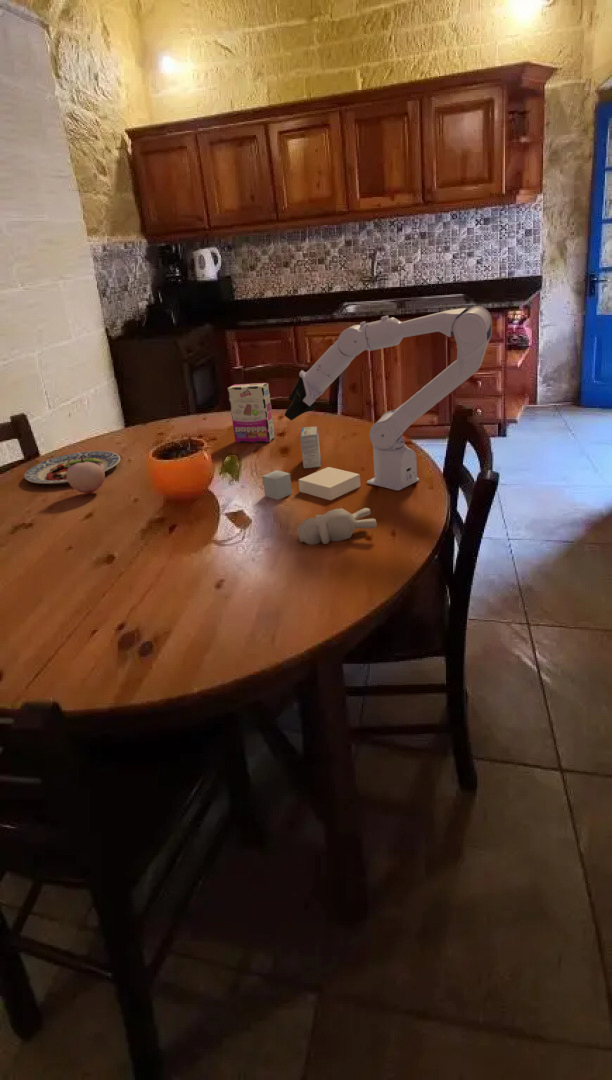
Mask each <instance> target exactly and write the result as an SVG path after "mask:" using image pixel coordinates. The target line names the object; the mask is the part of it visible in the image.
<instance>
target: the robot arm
mask: <svg viewBox="0 0 612 1080" xmlns="http://www.w3.org/2000/svg"><path fill="white" fill-rule="evenodd" d="M465 310H466V311H465ZM491 315H492V314H491V313H490V312H489V310H488V309H486V308H484V307H482V306H472V307H470V308H468V309H467V308H464V307H462V308H455V309H454V308H453V309H449V310H444V311H443V310H442V311H440V312H435V313H431V314H428V315H424V316H420V317H415V318H413V319H408V320H405V321H401V320H399V319H398V318H395V317H394V316H393V317H392V316H391V317H389V315H384V316H381V317H380V319H379V320H376V321H371V322H366V320H365V321H361V322H360V323H359V324H353V325H352V326H350V327H348V328H346V329H344V330H343V331H342V332H341V333H340V334H339V336H338V338H337V339H336V340H335V342H334V343H333V344H332V345H330V346H329V348H327V350H326V351H325V352H324V353H323V354H322V355H321V356H320V358H318V360H316V362H315V363H314V364H313V365H312V366H311V367H310V368H309V370H307V371H306V372H305V371H304V370H300V372H299V378H298V379H297V382H296V384H295V386H294V387H293V389H292V390H291V392H290V395H289V396H288V400H289V401H290V402H291V403H290V405H289V406H288V408H287V409H286V410H285V413H284V417H286V418H287V419H288V420H290V421H293V420H295V419H296V418H297V417H299V416H301V415H303V414H305V413H308V412H311V411H315V409H316V406H317V405H316V404H315V402H316V400H317V399H318V398H319V397H321V396H322V395H323V394H324V393H325V392H326V390H327V389H328V388H329V387H330V385H332V383H333V382H335V380H336V379H337V378H338V377H339V376H340V375H341V374H343V372H344V371H345V370H346V369H347V368H348V367H349V365H350V364H351V362H352V361H353V360H354V359H355V358H356V356H359V355H360V354H361V353H363V352H364V351H369V352H372V351H376V350H380V349H381V350H382V349H385V348H390V347H394V346H395V347H396V346H398V345H400V343H401V342H402V340H403V338H409V337H413V336H420V335H425V334H431V333H438V332H439V333H441V334H443V335H445V336H447V337H448V338H451V337H453V335H454V340H455V343H456V347H457V348H456V349H457V351H456V359H455V360H454V361H453V362H451V363H450V364H449V365H448V366H447V367H446V368H445V369H443V370H442V371H441V372H440V373H438V374H437V375H436V376H435V377H434V378H433V379H432V380H430V381H429V382H428V383H426V384H425V385H424V386H423V387H422V388H421V389H419V390H418V391H417V392H416V393H414V394H413V395H412V396H411V397H409V399H407V400H406V401H405V402H404V403H402V404H401V405H399V406H398V407H397V408H396V409H393V410H388V411H386V412H385V413H383V415H381V417H380V418H379V419H378V420H377V421H376V422H375V423H373V425H371V427H370V428H369V429H370V430H369V434H368V435H369V440H370V442H371V443H372V451H373V452H372V453H373V455H372V456H373V474H374V477H372V478H371V479H368V480H367V481H366V483H367V484H369V485H374V486H377V487H382V488H386V489H388V490H393V491H398V492H399V491H401V490H402V489H405V488H407V487H409V486H411V485H412V484H415V483H417V482H418V481H420V478H419V477H418V473H417V471H418V469H417V467H418V466H417V464H418V463H417V460H418V459H417V453H416V452H415V450H414V449H412V448H410V447H408V446H407V444H405V443H406V442H405V438H404V437H403V434H404V433H405V431H406V430H407V429H409V427H410V426H411V425H412V424H413V423H415V421H416V422H417V420H418V419H419V418H421V417H422V416H423V415H425V414H426V413H427V412H428V411H430V410H431V409H432V408H433V407H435V406H436V405H437V404H438V403H440V402H441V401H442V400H443V399H444V398H445V397H447V396H449V395H450V394H451V393H452V392H453V391H454V390H455V389H457V388H458V387H459V386H461V385H462V384H463V383H464V382H466V381H467V380H468V379H470V378H471V377H472V376H473V375H474V374H476V373H477V372H478V371H479V369H481V366H482V364H483V361H484V358H485V355H486V353H487V349H488V346H489V343H490V341H491V337H492V334H493V319H492V316H491Z"/></svg>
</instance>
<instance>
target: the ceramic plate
mask: <svg viewBox="0 0 612 1080" xmlns="http://www.w3.org/2000/svg"><path fill="white" fill-rule="evenodd" d="M81 456H82V458H83V460H85V459H88V458H96V459H99V460H101V461H102V462H103V463H101V462H99V463H100V464H101V465H102V466H103V469H104V472H107V471H110V470H111V469H113V468H114V467H116V466H117V465H118V464H119V463H120V461H121V456H120V455H119V454H117V453H116V452H112V451H106V450H91V451H90V450H89V451H81V452H74V453H68V454H64V455H60V456H56V457H53V458H50V459H47V460H44V461H41V462H39V463H37V464H35V465H34V466H32V467H30V468H29V469H27V470H26V472H25V473H24V479H25V480H26V481H28V482H30V483H35V484H47V485H48V484H49V485H53V484H67V483H68V484H69V482H68V480H67V469H68V467H69V466H70V465H71V464H70V465H68V466H66V467H65V468H64V466H65V465H66V464H67V463H69V462H71V461H74V460H80V461H82V460H81Z"/></svg>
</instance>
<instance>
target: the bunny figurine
mask: <svg viewBox="0 0 612 1080" xmlns="http://www.w3.org/2000/svg"><path fill="white" fill-rule="evenodd" d="M369 515H371V509H370V508H368V507H363V508H361V509H359V510H357V511H355V512H354V513H351V512H349V511H347V510H345V509H344V508H335V509H331V510H328V511H326V512H325V513H324V514H316V515H315V516H314V517H309V518H305V520H303V521H302V522H301V523H300V525H299V526H296V529H297V533H298V537H299V542H300V543H303V542H304V543H305V544H307V545H309V546H312V545H317V544H319V543H322V544H324V545H328V544H329V543H330V541H332V542H341V541H345V540H349V539H351V537H352V535H353V533H354V531H355V529H364V530H365V529H367V530H368V529H375V528H377V526H378V524H377V520H376V518H366V519H364V517H367V516H369ZM361 518H363V519H361Z"/></svg>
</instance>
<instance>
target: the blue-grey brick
mask: <svg viewBox="0 0 612 1080" xmlns="http://www.w3.org/2000/svg"><path fill="white" fill-rule="evenodd" d="M291 479H292V478H291V473H290V472H286V471H283V470H279V469H275V470H274V471H271V472H269V473H266V474H264V475H262V484H263V490H264V492H263V493H264V496H265V497H267V496H268V497H267V498H272V499H273V500H276V501H279V500H281V499H283V498H285V497H287V496H290V495H292V494H293V491H292V490H293V488H292V481H291Z"/></svg>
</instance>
